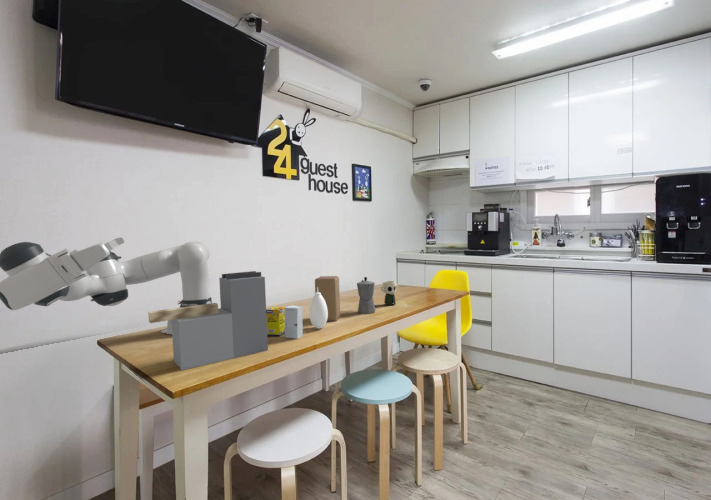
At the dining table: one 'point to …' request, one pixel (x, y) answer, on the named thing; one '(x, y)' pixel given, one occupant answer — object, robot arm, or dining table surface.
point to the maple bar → (182, 312)
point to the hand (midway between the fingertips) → (121, 239)
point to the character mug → (389, 291)
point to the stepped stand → (225, 324)
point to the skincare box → (293, 322)
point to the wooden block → (329, 294)
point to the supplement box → (275, 321)
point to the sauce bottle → (318, 311)
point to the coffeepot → (366, 296)
